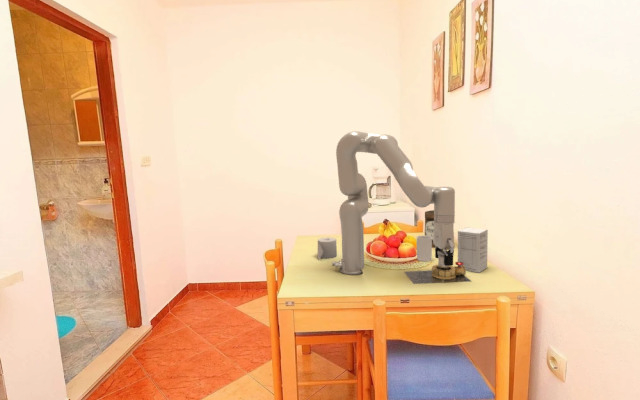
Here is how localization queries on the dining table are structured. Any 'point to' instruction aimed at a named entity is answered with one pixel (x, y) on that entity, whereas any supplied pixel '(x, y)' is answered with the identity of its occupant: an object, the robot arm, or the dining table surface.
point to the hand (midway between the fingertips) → (443, 261)
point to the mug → (424, 248)
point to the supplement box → (473, 249)
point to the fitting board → (430, 279)
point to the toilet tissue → (327, 248)
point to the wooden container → (429, 225)
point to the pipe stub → (441, 260)
